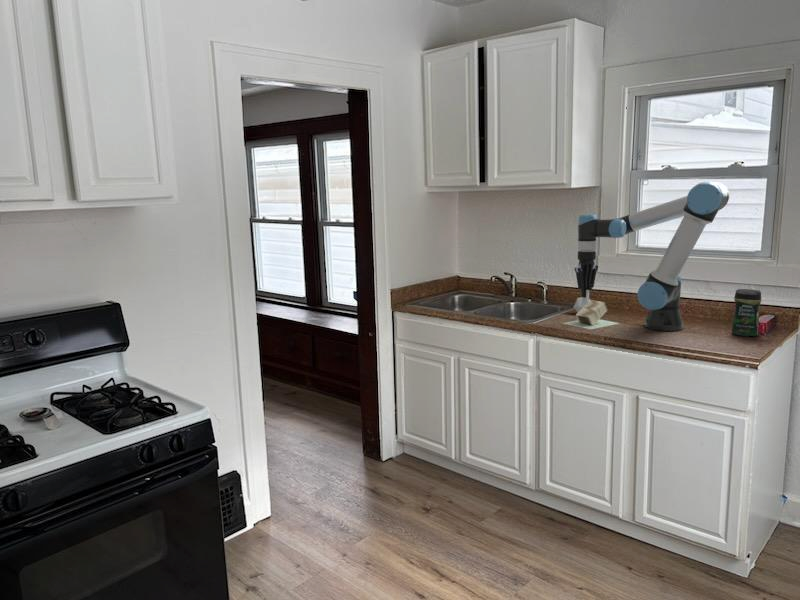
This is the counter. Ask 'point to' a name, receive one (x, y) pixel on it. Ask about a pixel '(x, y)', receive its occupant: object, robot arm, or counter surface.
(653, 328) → the robot arm
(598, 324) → the mat
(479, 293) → the counter surface
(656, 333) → the counter surface
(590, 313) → the maple slab
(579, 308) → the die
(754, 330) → the coffee jar
